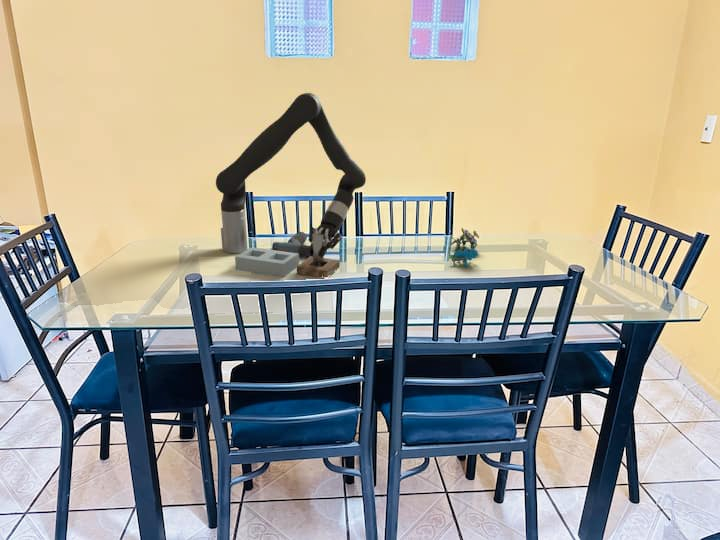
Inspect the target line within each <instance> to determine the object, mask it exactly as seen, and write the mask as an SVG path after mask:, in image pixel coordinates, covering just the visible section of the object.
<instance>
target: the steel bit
mask: <svg viewBox="0 0 720 540" xmlns="http://www.w3.org/2000/svg"><path fill="white" fill-rule="evenodd" d="M323 244H324V234H323V233H319V232H317V233H313V266H320V267H323V266H324V258H325V255H324V256H323V257H322V258H321V257H319V256H318V253H319V251H320V249H321V247H322V246H323Z"/></svg>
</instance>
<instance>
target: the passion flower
mask: <svg viewBox="0 0 720 540" xmlns="http://www.w3.org/2000/svg"><path fill="white" fill-rule="evenodd" d="M461 232H462V234H461V235H460V236H459V237H457V238H455V237H453V236H454V235H453V234H450V239H451V240H452V239H454V241H452V242H451V244H450V246H452V245H454V244H455V243H456V246H455V249H454V251H456V250H457V248H459V247H460V246H461V244H462V246H463V247H464V246H466V245H467V243H469V244H470V249H473V252H474V250H476V247H478V243H477V239H479V238H480V236H479V234H478V233H477V231H476V230H473V234H472V232H470V231H469V230H467V229H465V230H464V228H463V227H461ZM475 237H476V238H477V239H476V238H475Z"/></svg>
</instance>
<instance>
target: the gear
mask: <svg viewBox="0 0 720 540" xmlns="http://www.w3.org/2000/svg"><path fill="white" fill-rule="evenodd" d="M448 256H449V259H450V260H451V261H452V265H453V266H452V267H456V262H463V263H464V268H469V266H468V261H472V260H473V259H476V258H477V256H479V253H478V250H476V249H475V250H474V251H473V249H471V248H469V250H468V248H464V249H463V250H462V249H459V250H457V251H454V252H453V254H448Z"/></svg>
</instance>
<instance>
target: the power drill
mask: <svg viewBox="0 0 720 540" xmlns="http://www.w3.org/2000/svg"><path fill="white" fill-rule="evenodd" d="M307 240H308V237H307V234H306V233H305V232H303V231H299V232H296V233H295V234H293V235H292V236H291V237H290V238H289V239H288V241H287V242H285V241H284V242H280V241H274V242H273V243H272V247H271V250H276V251H284V252H291V253H298V254H299V257H310V256H312V257H313V255H310V254H309V253H308V249H309V248H310V245H307V244H305V242H306V241H307ZM303 243H304V244H303Z"/></svg>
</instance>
